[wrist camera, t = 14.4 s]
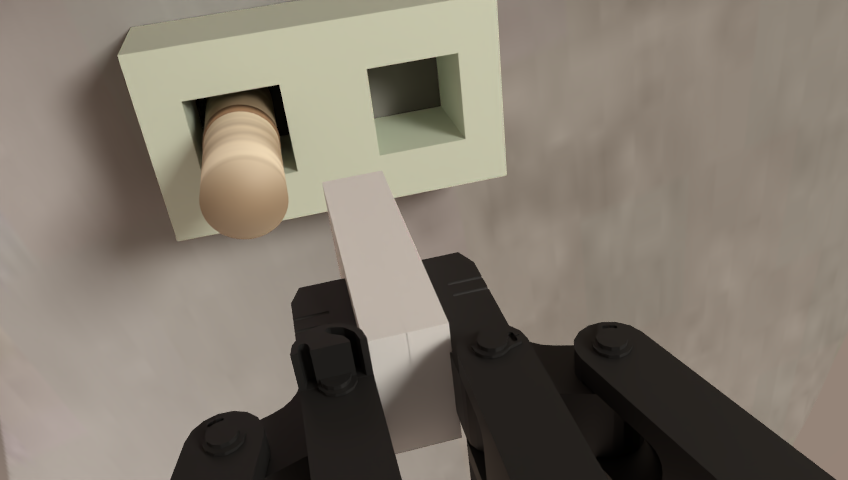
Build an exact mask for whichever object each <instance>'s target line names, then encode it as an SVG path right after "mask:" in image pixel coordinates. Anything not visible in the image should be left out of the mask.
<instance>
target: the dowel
mask: <svg viewBox="0 0 848 480" xmlns="http://www.w3.org/2000/svg"><path fill="white" fill-rule="evenodd" d="M202 150H203V154H202V168H201V182H200V195H199V204H200V209H201V212H202V215H203V216H204V218H205V220H206V221H207V222H208V224H209V225H210V226H211V227H212V228H213V229H215V230H216V231H218V232H219V233H221V234H223V235H225V236H228V237H231V238H236V239H252V238H257V237H260V236H263V235H265V234H267V233H269V232H271V231H272V230H273V229H275V228H276V227H277V226H278V225H279V224H280V223H281V221H282V220H283V218H284V217H285V214H286V212H287V209H288V203H289V197H288V191H287V185H286V179H285V173H284V167H283V161H282V155H281V143H280V137H279V132H278V129H277V124H276V118H275V112H274V106H273V100H272V96H271V93H270V91H269V89H268V87H262V88H256V89H250V90H245V91H239V92H233V93H228V94H222V95H216V96H211V97H207V100H206V113H205V127H204V132H203V141H202Z"/></svg>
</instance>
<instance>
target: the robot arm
mask: <svg viewBox="0 0 848 480" xmlns="http://www.w3.org/2000/svg"><path fill="white" fill-rule="evenodd" d="M322 185H323V190H324V195H325V200H326V205H327V210H328V215H329V221H330V226H331V231H332V236H333V241H334V246H335V251H336V256H337V261H338V266H339V271H340V276H341V279H339V280H334V281H330V282H325V283H320V284H316V285H311V286H306V287H302V288H299V289H298V291H297V293H296V295H295V297H294V299H293V301H292V303H291V306H292V314H293V320H294V329H295V337H296V341H295V342H294V344H293V345H292V348H291V354H290V356H291V360H292V364H293V368H294V372H295V376H296V380H297V384H298V388H299V389H298V392H297V393H296V395H295V396H294V397H293V399H292V400H291V401H290V402H289V403H288V404H287V405H285V406H284V407H283V408H282V409H280V410H278V411H276V412H275V413H273V414H271V415H269V416H267V417H265V418H263V419H261V420H259V418H258V417H256V416H254V415H252V414H250V413H248V412H239V411H231V412H226V413H221V414H217V415H215V416H213V417H211V418H209V419H207V420H205V421H203V422H202V423H201V424H200V425H198V426H197V427H196V428H195V429H194V430H192V432H191V433H190V435H189V436H188V438H187V440H186V441H185V443H184V446H183V448H182V451H181V453H180V456H179V459H178V461H177V464H176V466H175V469H174V472H173V474H172V477H171V479H170V480H402V479H401V475H400V471H399V467H398V464H397V460H396V456H395V454H398V453H402V452H406V451H410V450H414V449H418V448H422V447H426V446H430V445H434V444H438V443H442V442H446V441H450V440H454V439H458V438H462V435H461V426H460V422H461V425H462V427H463V430H464V432H465V435H466V438H467V447H468V456H469V465H470V475H471V480H836V479H834V478H833V477H832V476H831V475H829V474H828V473H827V472H825V471H824V470H823V469H821V468H820V467H819V466H817V465H816V464H815V463H813V462H812V461H811V460H809V459H808V458H807V457H806V456H804V455H803V454H802V453H800V452H799V451H798V450H796V449H795V448H794V447H793V446H791V445H790V444H789V443H787V442H786V441H785V440H783V439H782V438H781V437H779V436H778V435H777V434H775V433H774V432H773V431H772V430H770V429H769V428H768V427H766V426H765V425H764V424H762V423H761V422H760V421H758V420H757V419H756V418H754V417H753V416H752V415H751V414H749V413H748V412H747V411H745V410H744V409H743V408H741V407H740V406H739V405H737V404H736V403H735V402H733V401H732V400H731V399H730V398H728V397H727V396H726V395H724V394H723V393H722V392H720V391H719V390H718V389H716V388H715V387H714V386H712V385H711V384H710V383H708V382H707V381H706V380H705V379H703V378H702V377H701V376H699V375H698V374H697V373H695V372H694V371H693V370H691V369H690V368H689V367H687V366H686V365H685V364H684V363H682V362H681V361H680V360H678V359H677V358H676V357H674V356H673V355H672V354H670V353H669V352H668V351H666V350H665V349H664V348H663V347H661V346H660V345H659V344H657V343H656V342H655V341H653V340H652V339H651V338H649V337H648V336H647V335H645V334H644V333H643V332H641V331H640V330H638V329H636V328H634V327H632V326H630V325H626V324H622V323H617V322H601V323H597V324H593V325H589V326H587V327H586V328H584V329H583V330H581V331H580V332H579V333H578V334H577V336H576V338H575V339H574V345H565V346H552V345H540V344H536V343H532V342H529V340H528V338H527V337H526V336H525V335H524V334H523V333H522V332H521V331H520V330H518V329H516V328H513V327H511V326H509V325H508V323H507V321H506V319H505V318H504V316H503V314H502V312H501V310H500V309H499V307H498V305H497V303H496V301H495V300H494V298H493V296H492V294H491V292H490V291H489V289H488V288H487V285H486V283H485V281H484V280H483V278H482V277H481V274H480V272H479V271H478V269H477V267H476V265H475V263H474V262H473V261H471V260H470V259H468V258H466V257H465V256H463V255H462V254H460V253H458V252H457V253H452V254H448V255H443V256H438V257H434V258H429V259H424V260H421V258H420V256H419V254H418V251H417V249H416V247H415V245H414V242H413V240H412V238H411V235H410V233H409V231H408V229H407V226H406V224H405V222H404V220H403V217H402V215H401V213H400V210H399V208H398V206H397V204H396V201H395V199H394V197H393V194H392V192H391V190H390V188H389V185H388V183H387V181H386V178H385V176H384V174H383V172H382V171H377V172H372V173H366V174H361V175H356V176H351V177H346V178H341V179H336V180H331V181H326V182H322Z"/></svg>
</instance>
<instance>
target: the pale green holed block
mask: <svg viewBox="0 0 848 480" xmlns="http://www.w3.org/2000/svg"><path fill="white" fill-rule="evenodd" d="M117 56H118V59H119V62H120V65H121V69H122V72H123V75H124V78H125V81H126V84H127V87H128V90H129V93H130V96H131V100H132V103H133V106H134V109H135V112H136V115H137V118H138V121H139V124H140V127H141V131H142V134H143V137H144V140H145V143H146V146H147V149H148V152H149V155H150V158H151V162H152V165H153V168H154V171H155V174H156V177H157V180H158V183H159V186H160V190H161V193H162V196H163V199H164V202H165V205H166V208H167V211H168V214H169V217H170V221H171V224H172V227H173V230H174V233H175V236H176V239H177V242H179V241H183V240H188V239H193V238H198V237H203V236H208V235H213V234H218V233H219V232H218V231H216V230H215V229H213V228H212V227H211V226H210V225H209V224H208V222H207V221H206V220H205V218H204V216H203V215H202V212H201V209H200V204H199V195H200V182H201V168H202V154H203V150H202V141H203V132H204V130H203V127H202V123H201V119H200V116H199V112H198V109H197V105H196V101H195V99H199V98H205V97H211V96H216V95H222V94H228V93H233V92H239V91H245V90H250V89H256V88H262V87H267V86H273V85H280V90H281V95H282V99H283V104H284V109H285V113H286V118H287V123H288V127H289V132H290V134H288V135H283V136H279V137H280V143H281V155H282V161H283V167H284V173H285V179H286V185H287V191H288V197H289V203H288V209H287V212H286V214H285V217H284V218H283V220H288V219H293V218H298V217H303V216H308V215H313V214H318V213H322V212H327V211H328V210H327V205H326V200H325V195H324V190H323V185H322V182H326V181H331V180H336V179H341V178H346V177H351V176H356V175H361V174H366V173H372V172H377V171H382V172H383V174H384V176H385V178H386V181H387V183H388V185H389V188H390V190H391V192H392V194H393V197H394V198H397V197H402V196H407V195H412V194H417V193H422V192H427V191H432V190H437V189H442V188H447V187H452V186H457V185H461V184H466V183H471V182H476V181H481V180H486V179H491V178H496V177H501V176H506V175H507V172H506V154H505V136H504V119H503V101H502V83H501V66H500V48H499V30H498V13H497V0H299V1H292V2H286V3H280V4H274V5H267V6H261V7H255V8H249V9H243V10H236V11H230V12H224V13H218V14H212V15H205V16H199V17H193V18H187V19H180V20H174V21H168V22H162V23H156V24H149V25H143V26H137V27H131V28H130V30H129V32H128V34H127V36H126V38H125V40H124V43H123V45H122V47H121V49H120V51H119V53H118V55H117ZM432 57H436V61H437V71H438V81H439V91H440V101H441V106H439V107H434V108H429V109H423V110H418V111H412V112H407V113H402V114H396V115H391V116H385V117H380V118H375V119H374V114H373V108H372V101H371V94H370V88H369V81H368V75H367V69H370V68H375V67H381V66H387V65H393V64H398V63H404V62H410V61H415V60H421V59H427V58H432ZM283 220H282V221H283Z"/></svg>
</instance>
